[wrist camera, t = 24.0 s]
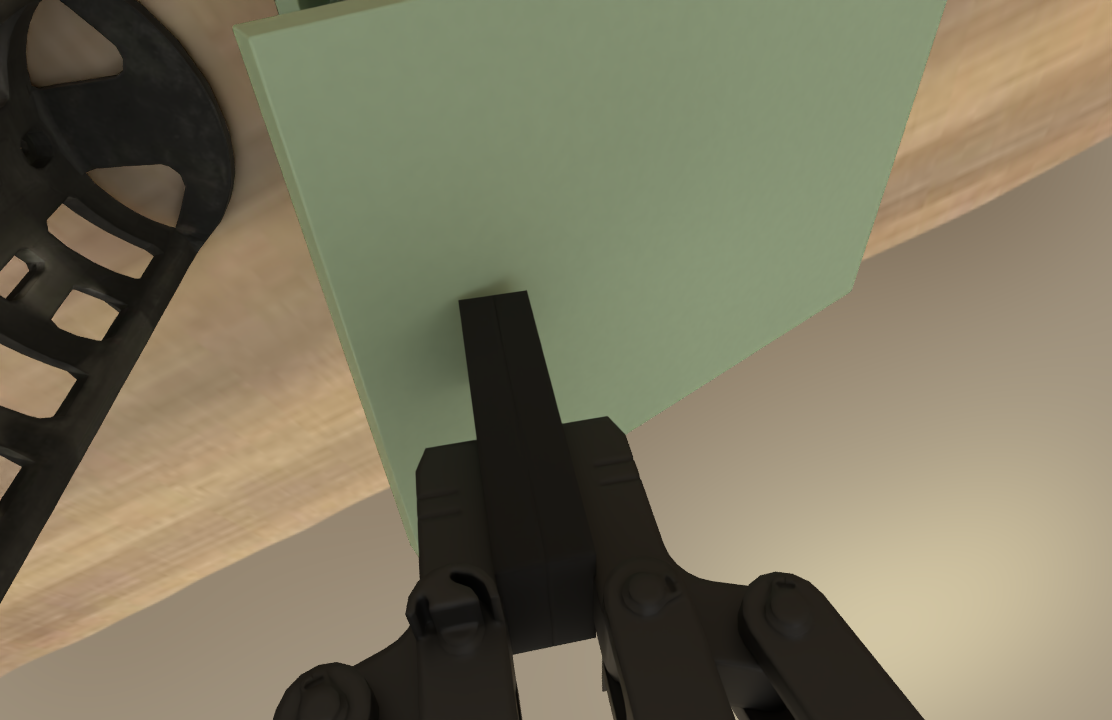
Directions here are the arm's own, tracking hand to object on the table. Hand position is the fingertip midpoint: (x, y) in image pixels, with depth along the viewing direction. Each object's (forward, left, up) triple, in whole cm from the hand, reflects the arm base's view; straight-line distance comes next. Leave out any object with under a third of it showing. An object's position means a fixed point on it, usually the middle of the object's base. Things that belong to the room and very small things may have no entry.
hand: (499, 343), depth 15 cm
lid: (+6, 0, -4) cm, 7 cm away
